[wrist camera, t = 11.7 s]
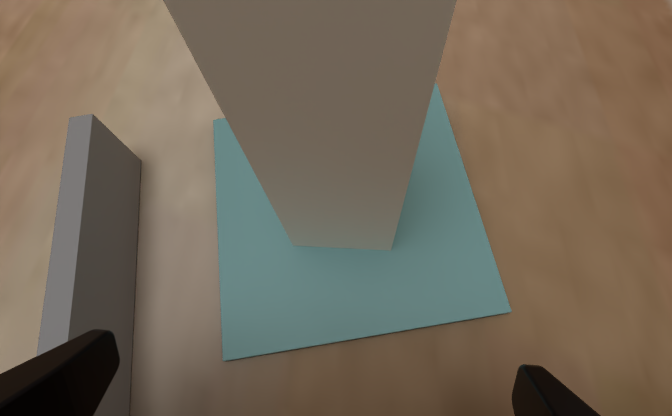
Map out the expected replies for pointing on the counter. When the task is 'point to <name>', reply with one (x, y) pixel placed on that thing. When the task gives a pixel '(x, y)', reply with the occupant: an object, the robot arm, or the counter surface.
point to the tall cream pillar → (323, 103)
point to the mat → (352, 258)
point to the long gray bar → (95, 250)
